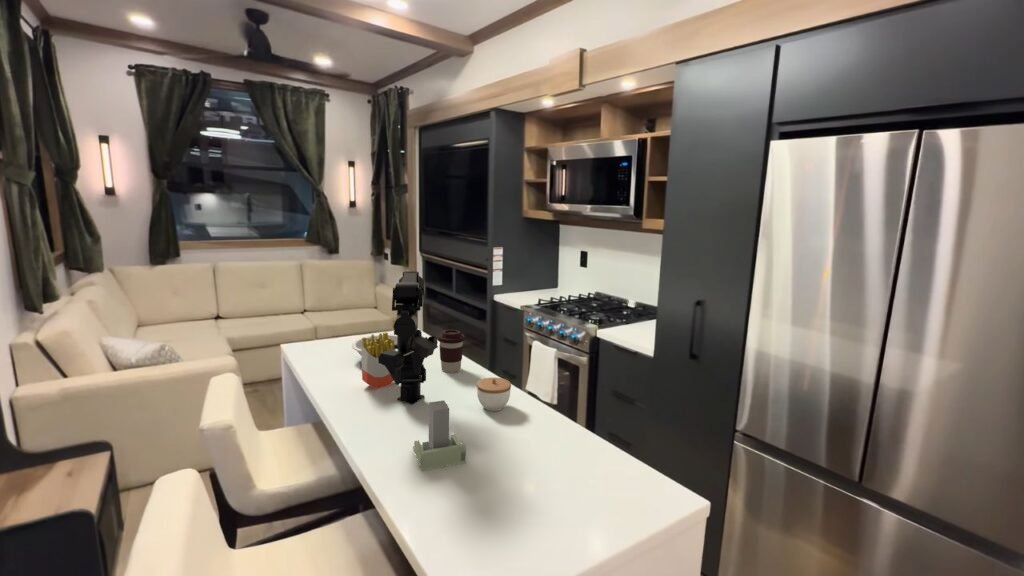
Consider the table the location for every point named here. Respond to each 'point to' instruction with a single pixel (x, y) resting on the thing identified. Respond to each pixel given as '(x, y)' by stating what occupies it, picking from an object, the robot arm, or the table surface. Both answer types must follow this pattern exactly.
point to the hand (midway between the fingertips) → (407, 379)
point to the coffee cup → (451, 350)
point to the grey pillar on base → (438, 426)
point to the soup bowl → (357, 344)
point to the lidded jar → (493, 393)
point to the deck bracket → (440, 454)
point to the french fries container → (376, 361)
